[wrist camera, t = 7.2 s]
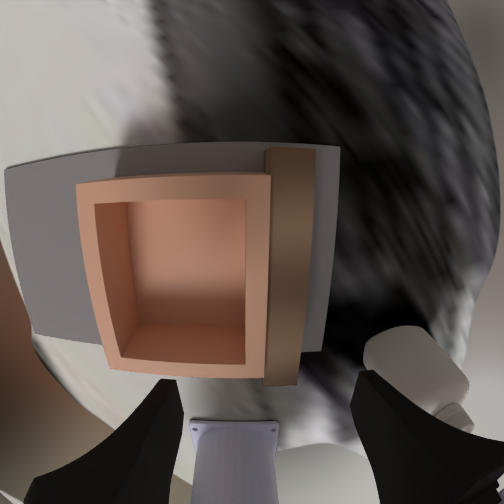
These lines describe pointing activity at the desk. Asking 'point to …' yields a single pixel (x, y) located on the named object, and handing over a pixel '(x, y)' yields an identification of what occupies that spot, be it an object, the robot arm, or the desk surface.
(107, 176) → the mat
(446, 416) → the eye dropper bottle
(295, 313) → the end wall
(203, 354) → the socket block
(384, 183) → the desk surface
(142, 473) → the robot arm
